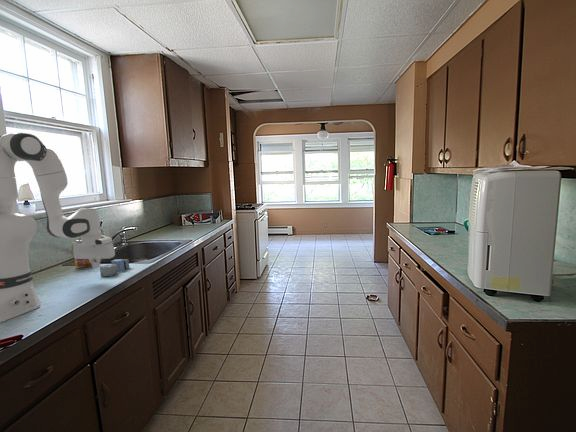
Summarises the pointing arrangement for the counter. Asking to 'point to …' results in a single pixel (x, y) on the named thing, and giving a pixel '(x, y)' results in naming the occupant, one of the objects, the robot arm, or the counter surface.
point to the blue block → (119, 264)
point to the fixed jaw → (126, 263)
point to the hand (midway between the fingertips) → (96, 266)
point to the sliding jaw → (108, 270)
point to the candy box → (82, 262)
